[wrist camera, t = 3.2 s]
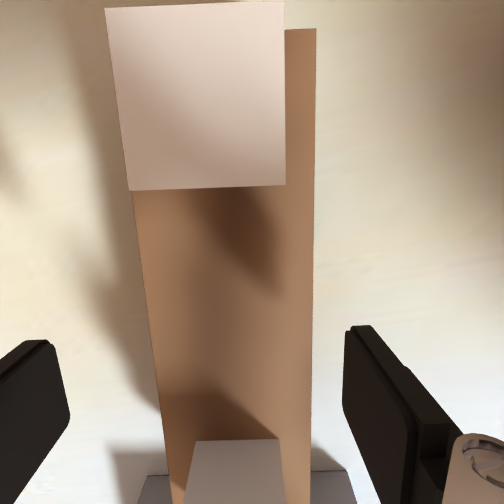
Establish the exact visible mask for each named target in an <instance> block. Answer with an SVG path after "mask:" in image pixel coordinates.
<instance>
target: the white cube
mask: <svg viewBox="0 0 504 504" xmlns="http://www.w3.org/2000/svg"><path fill="white" fill-rule="evenodd" d="M183 504H286V500H285V490H284V480H283V470H282V460H281V450H280V440H279V439H258V440H221V441H196V443H195V448H194V452H193V457H192V462H191V467H190V471H189V476H188V481H187V485H186V490H185V495H184V499H183Z"/></svg>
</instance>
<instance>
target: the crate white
mask: <svg viewBox="0 0 504 504" xmlns="http://www.w3.org/2000/svg"><path fill="white" fill-rule="evenodd" d="M104 10H105V18H106V25H107V32H108V40H109V47H110V55H111V62H112V70H113V77H114V84H115V92H116V99H117V107H118V114H119V122H120V129H121V137H122V144H123V151H124V159H125V166H126V174H127V181H128V189H129V191H140V190H167V189H193V188H220V187H247V186H273V185H286V162H285V55H284V0H274V1H251V2H229V3H207V4H185V5H162V6H140V7H118V8H104Z"/></svg>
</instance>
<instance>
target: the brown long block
mask: <svg viewBox="0 0 504 504" xmlns="http://www.w3.org/2000/svg"><path fill="white" fill-rule="evenodd" d="M284 55H285V162H286V185H273V186H247V187H220V188H193V189H167V190H140V191H132V198H133V206H134V213H135V221H136V228H137V236H138V244H139V251H140V259H141V266H142V274H143V281H144V289H145V297H146V304H147V312H148V319H149V327H150V334H151V342H152V349H153V357H154V365H155V372H156V380H157V387H158V395H159V402H160V410H161V418H162V425H163V433H164V440H165V448H166V455H167V463H168V471H169V478H170V486H171V493H172V501H173V504H183V499H184V495H185V490H186V485H187V481H188V476H189V471H190V467H191V462H192V457H193V452H194V448H195V443H196V441H221V440H258V439H279V440H280V450H281V460H282V470H283V480H284V490H285V500H286V504H310V465H311V390H312V315H313V240H314V165H315V90H316V28H315V29H292V30H284Z"/></svg>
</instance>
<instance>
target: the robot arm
mask: <svg viewBox="0 0 504 504" xmlns="http://www.w3.org/2000/svg"><path fill="white" fill-rule="evenodd" d="M342 406H343V411H344V414H345V417H346V419H347V422H348V424H349V427H350V429H351V431H352V434H353V436H354V439H355V441H356V444H357V446H358V449H359V451H360V453H361V456H362V458H363V461H364V463H365V466H366V468H367V470H368V473H369V475H370V478H371V480H372V483H373V485H374V488H375V490H376V492H377V495H378V497H379V500H380V502H381V504H504V442H503V441H501V440H499V439H497V438H494V437H490V436H487V435H484V434H476V433H470V434H463V433H462V432H461V430H460V429H459V428H458V427H457V426H456V424H455V423H454V422H453V421H452V420H451V418H450V417H449V416H448V415H447V414H446V412H445V411H444V410H443V409H442V408H441V406H440V405H439V404H438V403H437V402H436V400H435V399H434V398H433V397H432V396H431V394H430V393H429V392H428V391H427V390H426V388H425V387H424V386H423V385H422V384H421V382H420V381H419V380H418V379H417V378H416V376H415V375H414V374H413V373H412V372H411V370H410V369H409V368H407V367H406V366H404V365H403V364H402V363H401V362H400V360H399V359H398V358H397V357H396V356H395V354H394V353H393V352H392V351H391V349H390V348H389V347H388V346H387V345H386V343H385V342H384V341H383V340H382V338H381V337H380V336H379V335H378V334H377V332H376V331H375V330H374V329H373V327H372V326H370V325H361V326H352V327H351V329H350V331H346V332H345V345H344V367H343V389H342ZM69 420H70V411H69V407H68V402H67V398H66V394H65V389H64V385H63V380H62V376H61V372H60V367H59V363H58V358H57V354H56V350H55V347H54V345H53V344H50V342H49V341H48V340H46V339H45V340H26V341H24V342H22V343H21V344H20V345H18V346H17V347H16V348H14V349H13V350H12V351H11V352H9V353H8V354H7V355H5V356H4V357H3V358H1V359H0V504H13V503H14V502H15V501H16V499H17V498H18V496H19V495H20V493H21V492H22V491H23V489H24V488H25V486H26V485H27V483H28V482H29V481H30V479H31V478H32V476H33V475H34V473H35V472H36V471H37V469H38V468H39V466H40V465H41V463H42V462H43V460H44V459H45V458H46V456H47V455H48V453H49V452H50V450H51V449H52V448H53V446H54V445H55V443H56V442H57V440H58V439H59V438H60V436H61V435H62V433H63V432H64V430H65V429H66V427H67V426H68V423H69Z"/></svg>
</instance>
